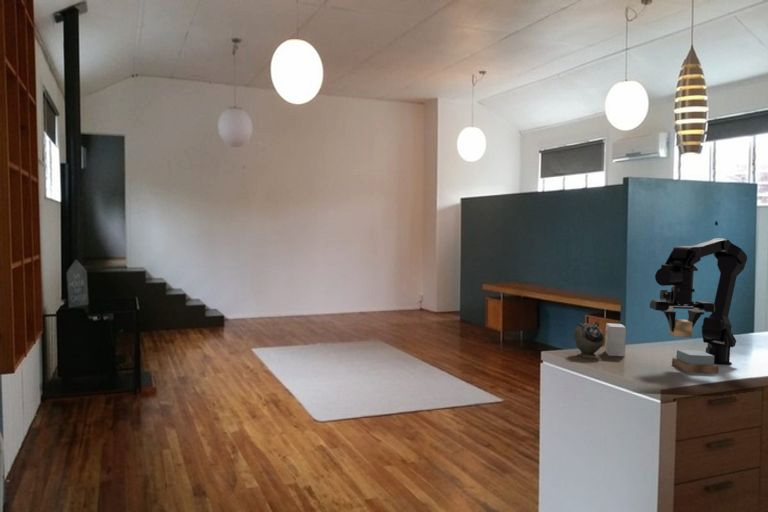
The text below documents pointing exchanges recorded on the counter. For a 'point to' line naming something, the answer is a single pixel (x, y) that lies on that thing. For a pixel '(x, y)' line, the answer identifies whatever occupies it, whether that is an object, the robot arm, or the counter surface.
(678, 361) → the tower base
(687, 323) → the oak block
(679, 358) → the tower top
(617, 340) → the small box
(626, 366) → the counter surface
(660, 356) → the counter surface
